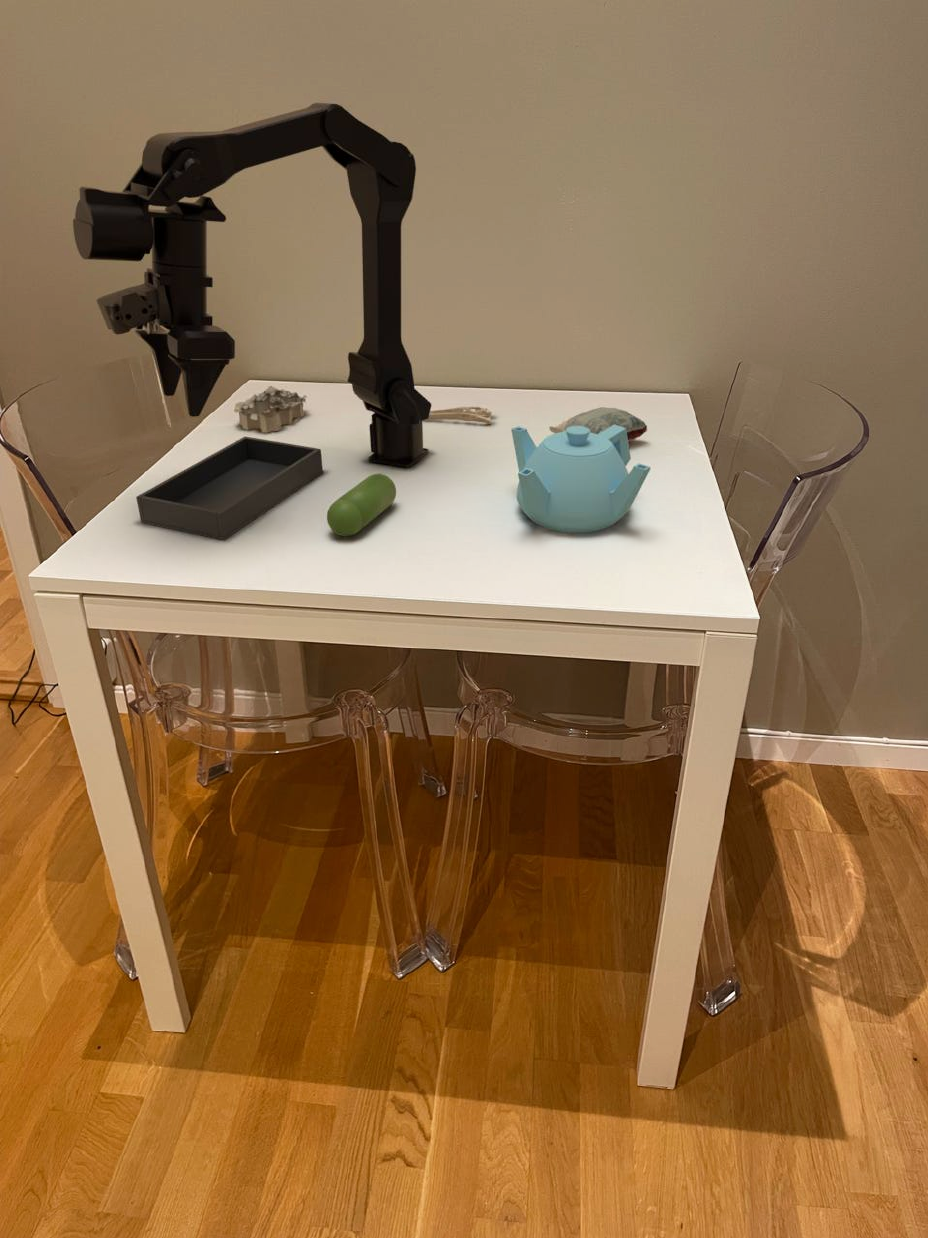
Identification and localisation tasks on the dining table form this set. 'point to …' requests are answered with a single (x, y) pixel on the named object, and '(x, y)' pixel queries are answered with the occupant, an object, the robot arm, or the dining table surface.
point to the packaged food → (605, 422)
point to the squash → (361, 504)
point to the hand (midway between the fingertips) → (181, 405)
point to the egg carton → (270, 409)
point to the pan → (230, 487)
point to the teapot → (576, 478)
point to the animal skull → (462, 414)
